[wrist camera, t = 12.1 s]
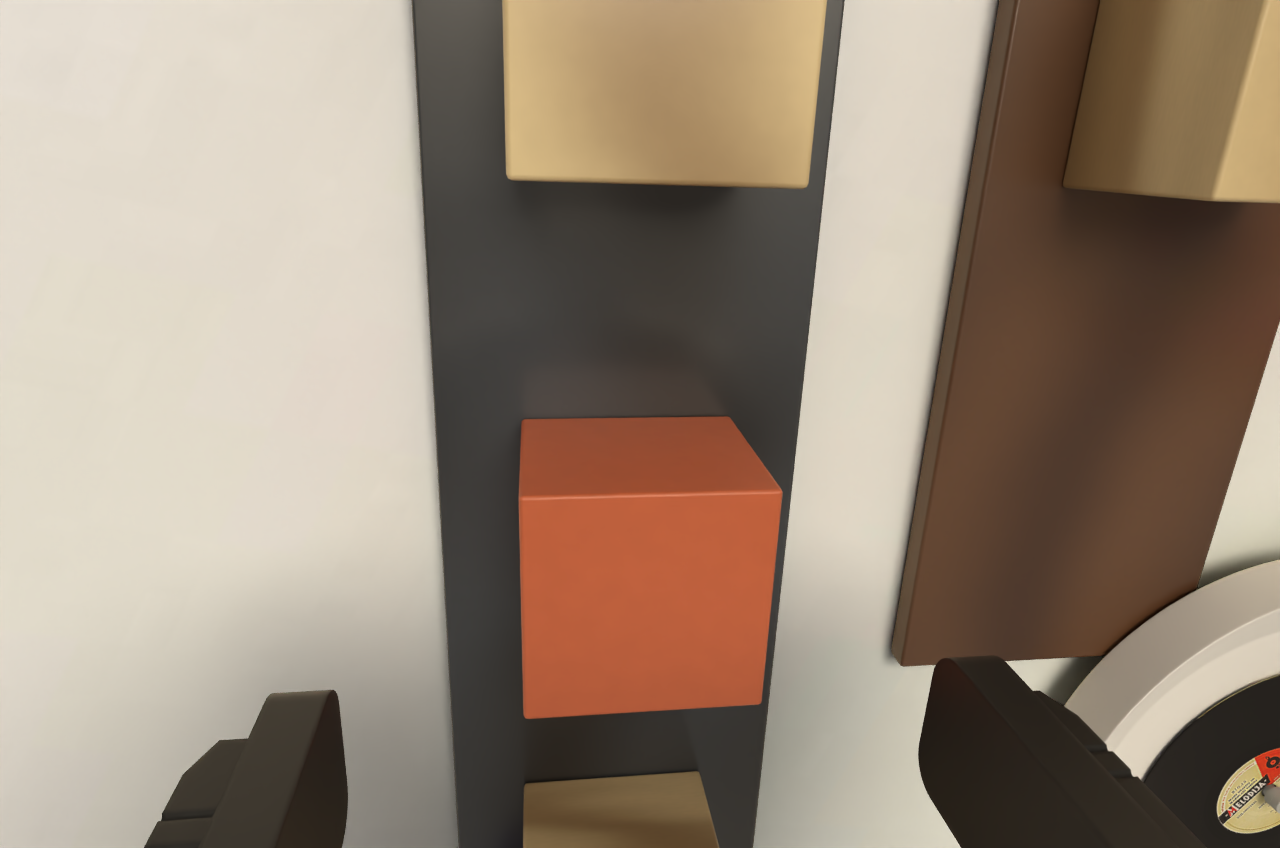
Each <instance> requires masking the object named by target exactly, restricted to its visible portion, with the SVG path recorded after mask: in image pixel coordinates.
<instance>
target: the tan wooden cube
mask: <svg viewBox="0 0 1280 848" xmlns="http://www.w3.org/2000/svg"><path fill="white" fill-rule="evenodd" d="M523 848H719V844H718V841H717V837H716V833H715V829H714V825H713V822H712V818H711V814H710V810H709V807H708V803H707V799H706V795H705V792H704V788H703V784H702V780H701V776H700V773H699V772H698V771H691V772H677V773H662V774H648V775H634V776H620V777H606V778H592V779H577V780H563V781H549V782H535V783H526V784H525V785H524V807H523Z"/></svg>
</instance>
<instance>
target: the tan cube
mask: <svg viewBox="0 0 1280 848" xmlns="http://www.w3.org/2000/svg"><path fill="white" fill-rule="evenodd" d="M1063 186H1064V187H1065V188H1069V189H1080V190H1091V191H1103V192H1114V193H1125V194H1136V195H1147V196H1158V197H1169V198H1180V199H1192V200H1203V201H1216V202H1249V203H1280V0H1100V4H1099V9H1098V14H1097V19H1096V24H1095V28H1094V33H1093V38H1092V43H1091V48H1090V53H1089V58H1088V63H1087V67H1086V72H1085V77H1084V82H1083V87H1082V92H1081V97H1080V102H1079V107H1078V111H1077V116H1076V121H1075V126H1074V131H1073V136H1072V141H1071V146H1070V150H1069V155H1068V160H1067V165H1066V170H1065V175H1064V180H1063Z"/></svg>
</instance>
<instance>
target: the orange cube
mask: <svg viewBox="0 0 1280 848" xmlns="http://www.w3.org/2000/svg"><path fill="white" fill-rule="evenodd" d="M782 493H783V492H782V489H781V488H780V487H779V485H778V484H777V482H776V481H775V480H774V478H773V477H772V476H771V474H770V473H769V471H768V470H767V469H766V467H765V466H764V464H763V463H762V462H761V460H760V459H759V457H758V456H757V455H756V453H755V452H754V450H753V449H752V448H751V446H750V445H749V443H748V442H747V441H746V439H745V438H744V436H743V435H742V434H741V432H740V431H739V429H738V428H737V427H736V425H735V424H734V422H733V421H732V420H731V418H730V417H649V418H572V419H524V420H522V422H521V447H520V474H519V540H520V584H521V629H522V674H523V715H524V717H525V718H526V719H536V718H552V717H568V716H584V715H600V714H616V713H632V712H648V711H664V710H680V709H696V708H712V707H728V706H744V705H758V704H760V703H761V701H762V692H763V682H764V672H765V662H766V652H767V642H768V632H769V622H770V612H771V602H772V592H773V582H774V572H775V562H776V552H777V542H778V533H779V523H780V513H781V503H782Z"/></svg>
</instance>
